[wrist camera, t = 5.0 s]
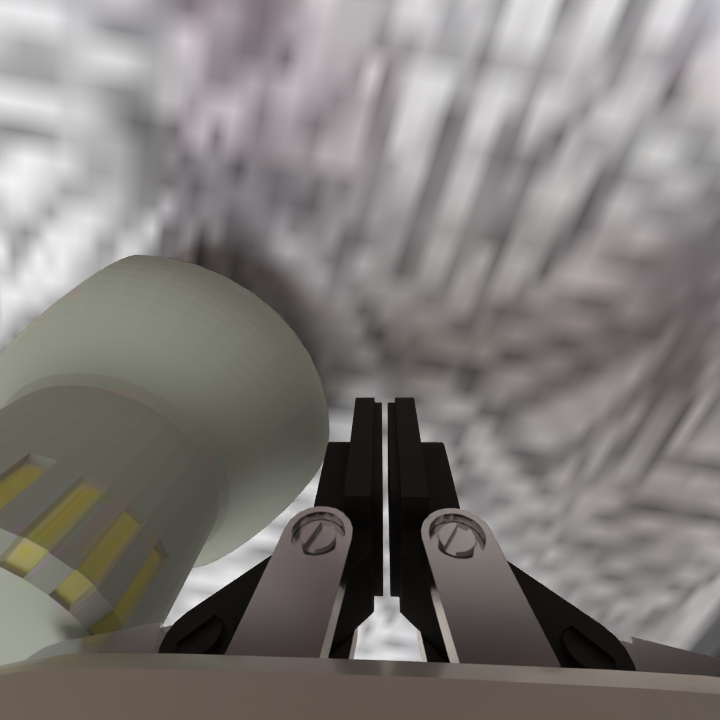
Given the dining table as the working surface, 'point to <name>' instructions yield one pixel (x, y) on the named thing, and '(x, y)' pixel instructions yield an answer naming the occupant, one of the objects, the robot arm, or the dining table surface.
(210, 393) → the air freshener
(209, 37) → the dining table surface
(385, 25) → the dining table surface
